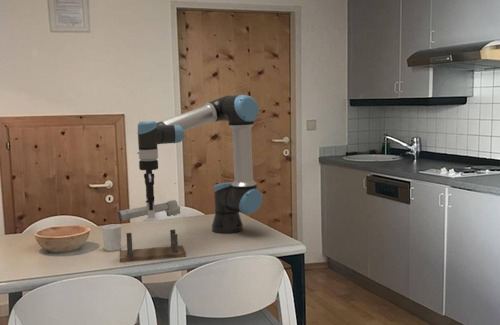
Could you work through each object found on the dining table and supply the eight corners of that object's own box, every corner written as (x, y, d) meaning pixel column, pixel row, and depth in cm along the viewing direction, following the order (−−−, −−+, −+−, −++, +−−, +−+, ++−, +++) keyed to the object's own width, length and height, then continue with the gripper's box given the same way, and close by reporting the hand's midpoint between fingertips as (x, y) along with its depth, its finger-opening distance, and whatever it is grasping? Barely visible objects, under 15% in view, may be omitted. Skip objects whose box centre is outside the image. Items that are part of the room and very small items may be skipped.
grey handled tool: (117, 210, 221) (176, 196, 230) (120, 225, 222) (179, 211, 232) (119, 212, 216) (180, 198, 226) (122, 228, 217) (182, 213, 227)
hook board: (182, 248, 235) (181, 228, 234) (185, 256, 223) (185, 234, 222) (120, 254, 229) (118, 232, 228) (120, 262, 217) (119, 239, 216)
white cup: (102, 248, 239) (100, 225, 238) (120, 245, 242) (119, 223, 241) (104, 252, 232) (103, 229, 231) (123, 250, 235) (122, 227, 234)
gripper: (138, 157, 230) (140, 212, 232) (139, 162, 212) (142, 221, 214) (156, 157, 231) (158, 211, 234) (159, 161, 214) (161, 220, 216)
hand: (150, 216), depth 224 cm, fingers closed on grey handled tool, 5 cm apart
